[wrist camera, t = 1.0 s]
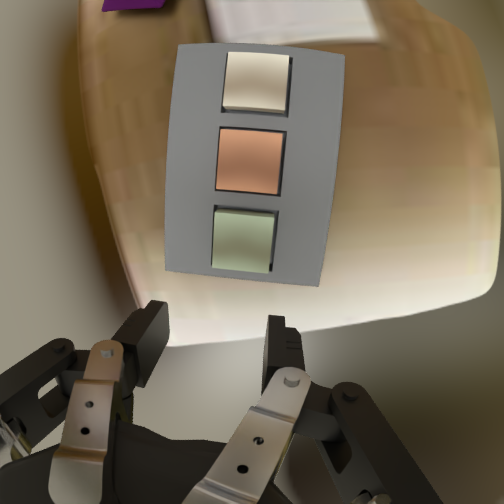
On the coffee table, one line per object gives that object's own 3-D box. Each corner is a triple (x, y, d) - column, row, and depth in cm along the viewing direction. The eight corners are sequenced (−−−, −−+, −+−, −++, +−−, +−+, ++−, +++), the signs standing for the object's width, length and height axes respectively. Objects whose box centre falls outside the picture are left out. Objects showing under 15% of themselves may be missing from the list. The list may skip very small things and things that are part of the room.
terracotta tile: (224, 131, 24) (220, 129, 22) (281, 135, 24) (282, 133, 22) (220, 186, 26) (216, 188, 24) (276, 191, 26) (276, 194, 24)
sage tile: (218, 208, 26) (214, 212, 24) (274, 213, 26) (274, 218, 24) (216, 259, 28) (212, 267, 26) (268, 265, 28) (268, 273, 26)
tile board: (187, 54, 24) (178, 44, 21) (337, 64, 23) (344, 55, 20) (174, 260, 31) (165, 270, 28) (314, 274, 30) (318, 286, 28)
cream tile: (231, 58, 22) (228, 51, 20) (287, 62, 22) (289, 55, 20) (226, 109, 23) (222, 105, 22) (283, 113, 23) (284, 110, 21)
